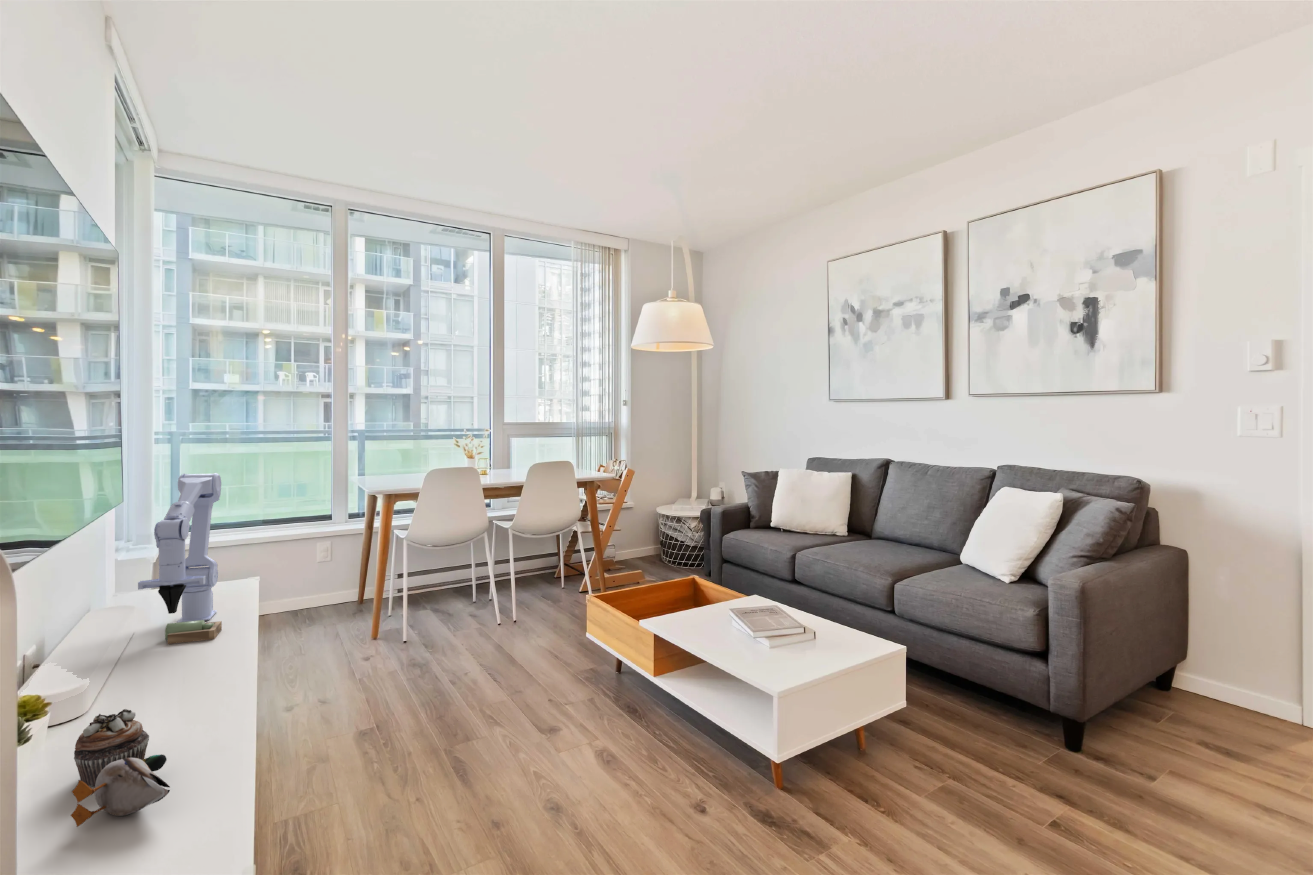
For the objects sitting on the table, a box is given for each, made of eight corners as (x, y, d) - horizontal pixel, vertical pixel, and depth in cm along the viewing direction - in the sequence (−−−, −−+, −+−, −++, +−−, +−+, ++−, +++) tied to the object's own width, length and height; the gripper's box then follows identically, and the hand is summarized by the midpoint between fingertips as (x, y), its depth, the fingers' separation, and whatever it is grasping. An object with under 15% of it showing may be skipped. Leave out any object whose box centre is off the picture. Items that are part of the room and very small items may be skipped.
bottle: (170, 623, 171) (215, 618, 175) (169, 639, 170) (214, 634, 174) (165, 623, 167) (211, 618, 171) (164, 640, 166) (210, 635, 170)
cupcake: (69, 797, 98) (68, 734, 98) (79, 769, 106) (78, 711, 105) (147, 777, 103) (146, 718, 103) (151, 752, 111) (151, 697, 111)
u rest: (177, 634, 172) (177, 625, 172) (221, 629, 177) (221, 621, 176) (167, 644, 165) (167, 634, 165) (214, 638, 169) (214, 629, 169)
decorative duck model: (144, 734, 105) (226, 735, 104) (142, 780, 104) (225, 781, 103) (51, 776, 90) (146, 777, 89) (48, 830, 89) (144, 832, 88)
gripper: (133, 568, 162) (133, 619, 162) (200, 563, 167) (200, 613, 168) (143, 563, 168) (143, 612, 168) (207, 558, 174) (207, 606, 174)
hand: (172, 612), depth 168 cm, fingers closed
